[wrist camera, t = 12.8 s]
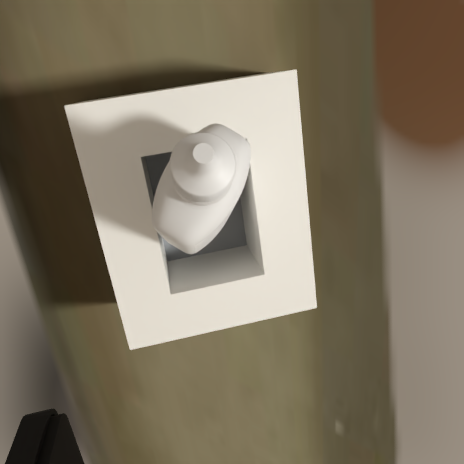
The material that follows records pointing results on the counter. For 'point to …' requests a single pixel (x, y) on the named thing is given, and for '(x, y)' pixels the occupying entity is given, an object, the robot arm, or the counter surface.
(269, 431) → the counter surface
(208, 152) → the eye dropper bottle
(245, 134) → the keyed holder
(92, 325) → the counter surface
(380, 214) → the counter surface
